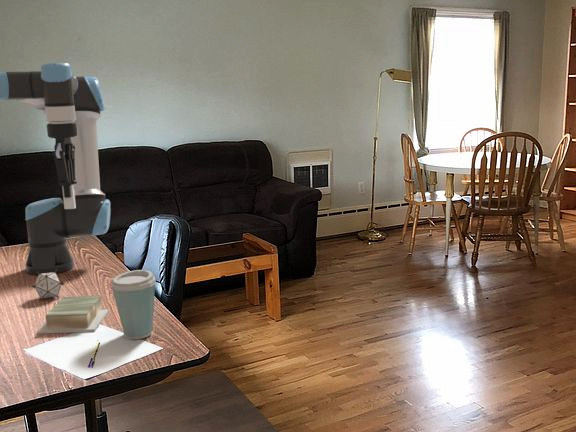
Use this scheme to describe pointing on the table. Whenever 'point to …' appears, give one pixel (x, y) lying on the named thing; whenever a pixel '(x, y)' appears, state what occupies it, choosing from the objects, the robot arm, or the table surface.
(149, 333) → the disposable coffee cup
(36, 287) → the game die
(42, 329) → the mat
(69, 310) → the wooden block
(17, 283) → the table surface
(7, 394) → the table surface
